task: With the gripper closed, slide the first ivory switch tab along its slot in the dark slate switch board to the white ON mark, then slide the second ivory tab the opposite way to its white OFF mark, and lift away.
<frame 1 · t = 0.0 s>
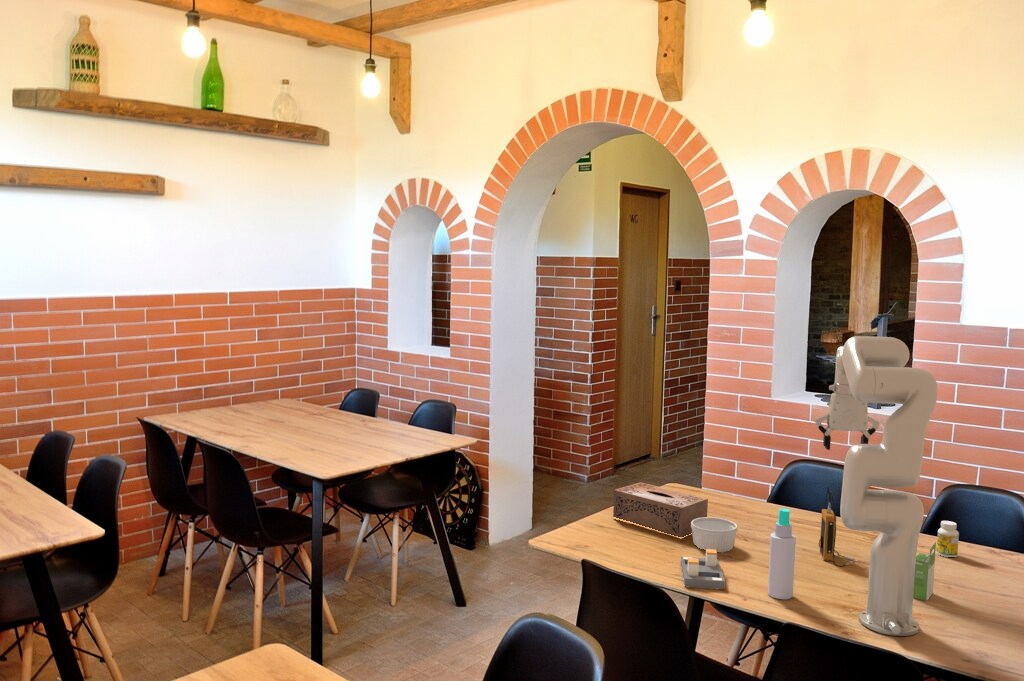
hand: (845, 449, 231), 31 cm above the table, tool pointing down, fingers open, 9 cm apart
ink box: (921, 596, 207), on the table
tab 1: (711, 560, 220), point 3 cm above the table, slide at 0.0 cm
switch board: (701, 576, 217), on the table
tab 2: (692, 569, 213), point 3 cm above the table, slide at 5.4 cm
spray bottle: (779, 596, 205), on the table
supplement bottle: (946, 555, 237), on the table
ramekin: (713, 547, 241), on the table
tissue box cover: (659, 525, 260), on the table
multimeter: (839, 558, 233), on the table
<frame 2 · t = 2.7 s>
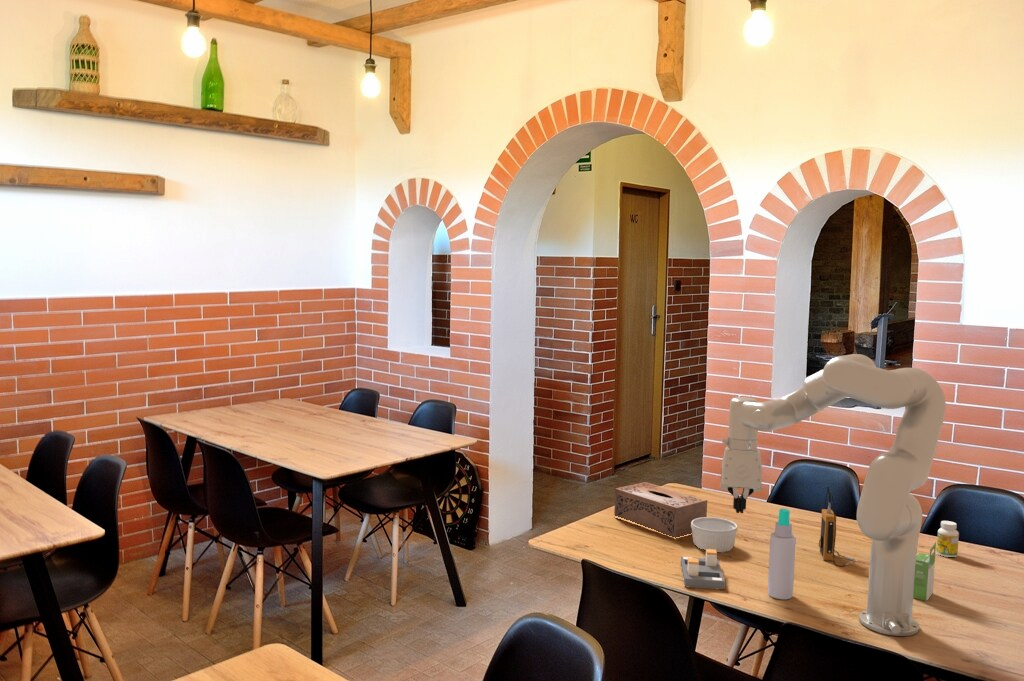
hand: (739, 511, 218), 17 cm above the table, tool pointing down, fingers closed
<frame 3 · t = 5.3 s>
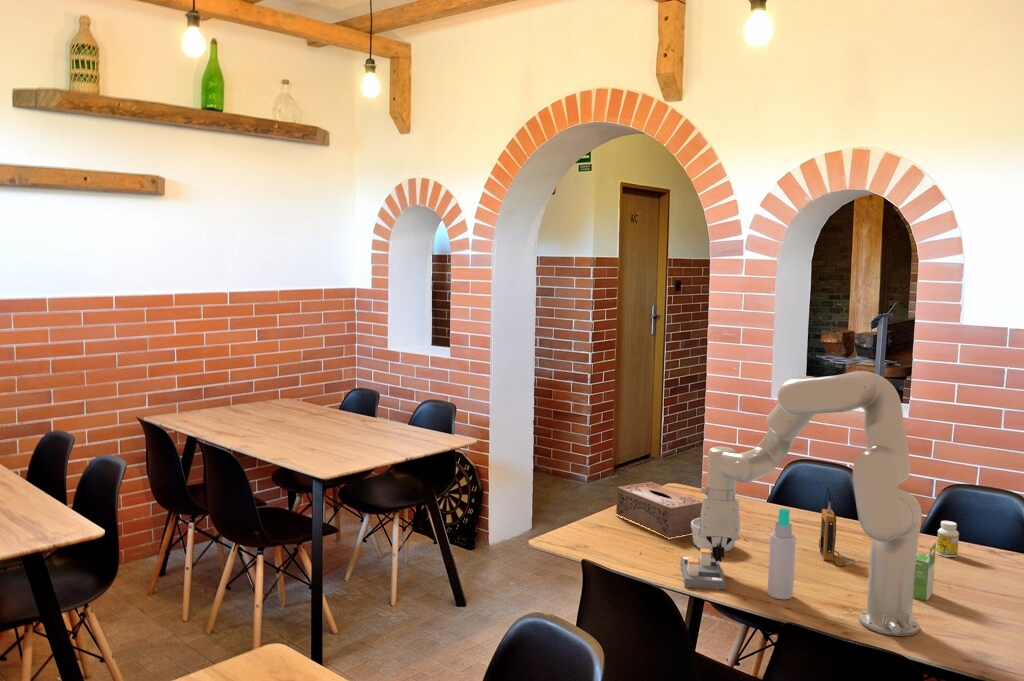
hand: (717, 559, 220), 3 cm above the table, tool pointing down, fingers closed
tab 1: (705, 559, 220), point 3 cm above the table, slide at 1.6 cm, touching gripper
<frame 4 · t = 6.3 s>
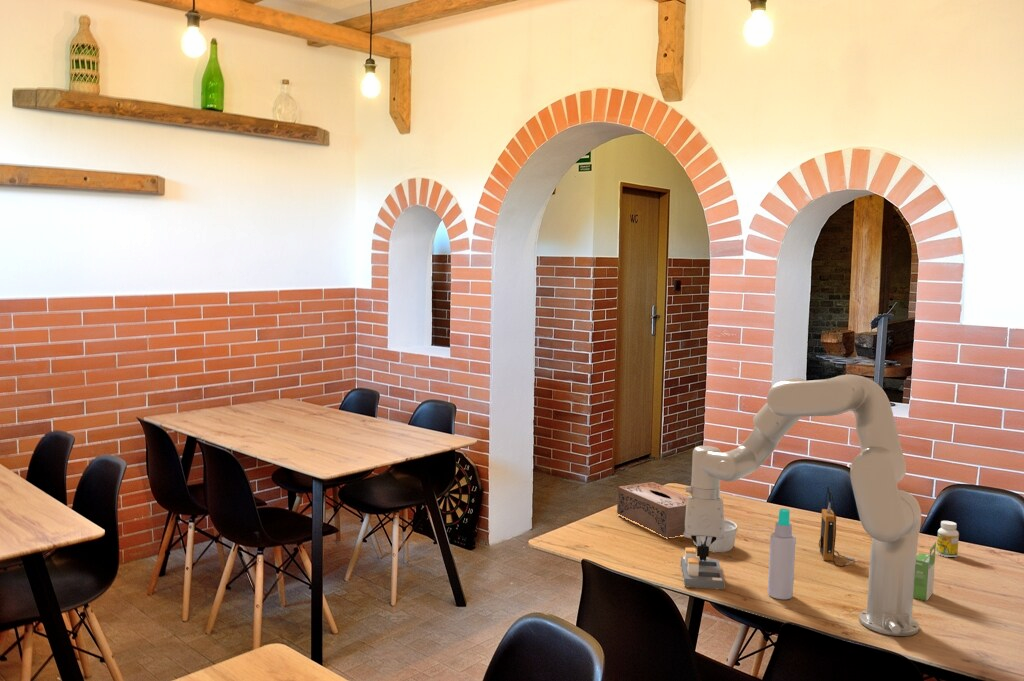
hand: (702, 558, 220), 3 cm above the table, tool pointing down, fingers closed
tab 1: (690, 558, 221), point 3 cm above the table, slide at 5.5 cm, touching gripper
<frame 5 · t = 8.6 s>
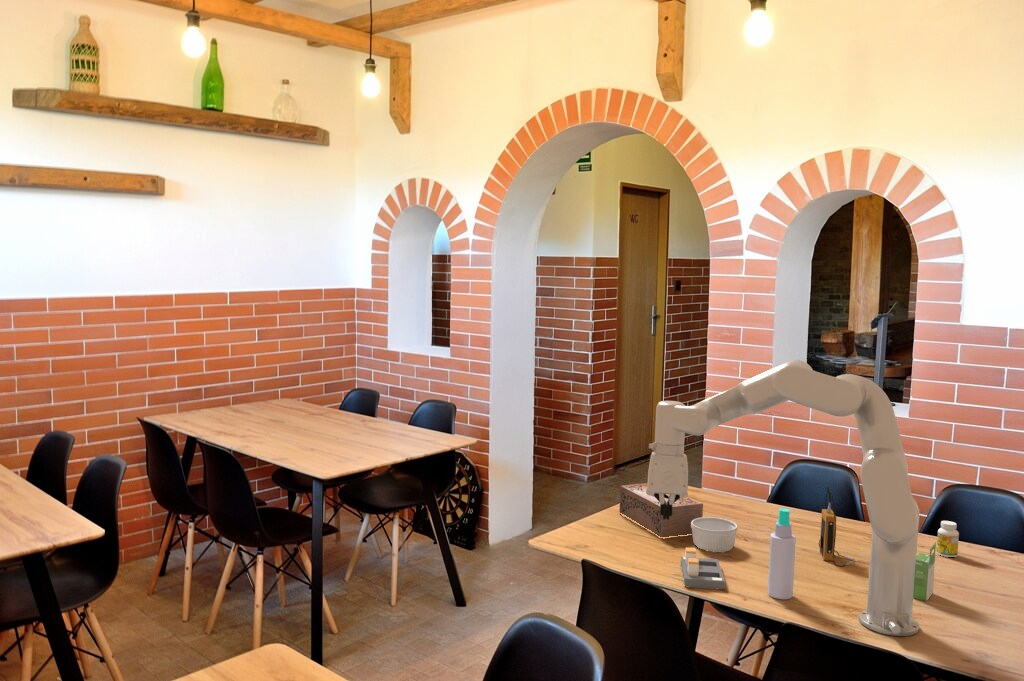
hand: (665, 517, 213), 17 cm above the table, tool pointing down, fingers closed
tab 1: (690, 558, 221), point 3 cm above the table, slide at 5.5 cm
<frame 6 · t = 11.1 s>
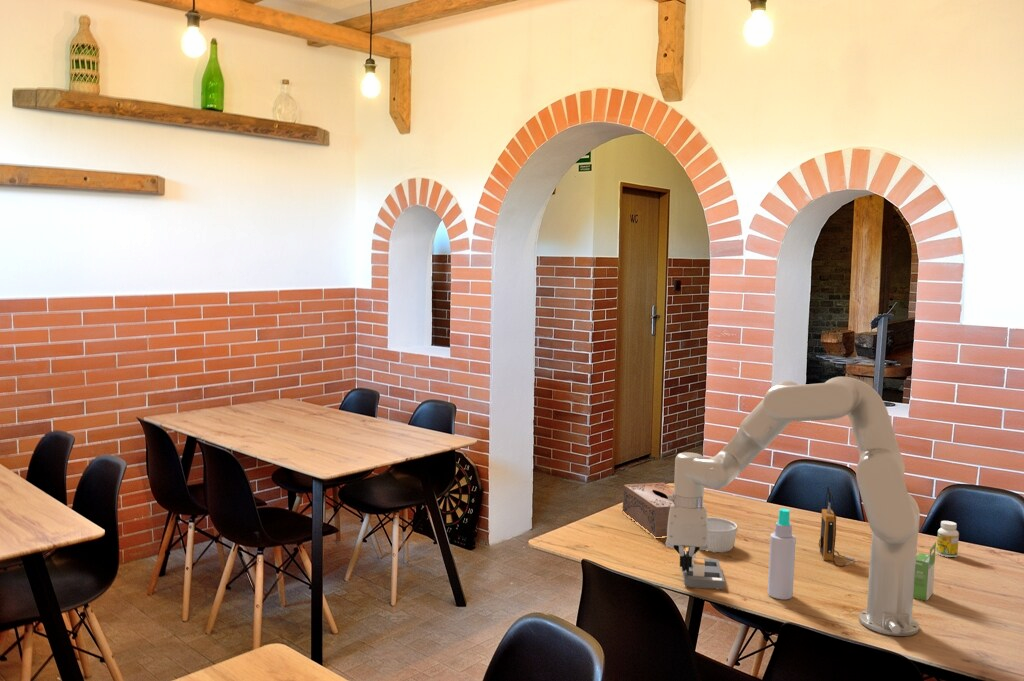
hand: (685, 569, 213), 3 cm above the table, tool pointing down, fingers closed
tab 2: (698, 569, 213), point 3 cm above the table, slide at 3.9 cm, touching gripper
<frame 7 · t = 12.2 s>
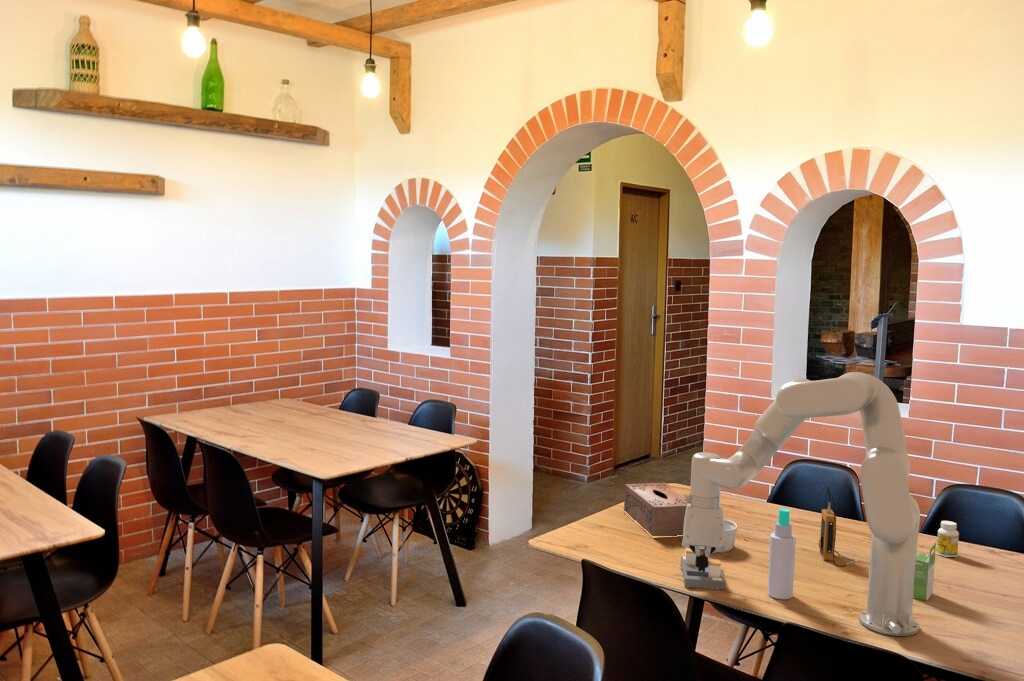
hand: (701, 569, 212), 3 cm above the table, tool pointing down, fingers closed
tab 2: (714, 571, 212), point 3 cm above the table, slide at -0.1 cm, touching gripper
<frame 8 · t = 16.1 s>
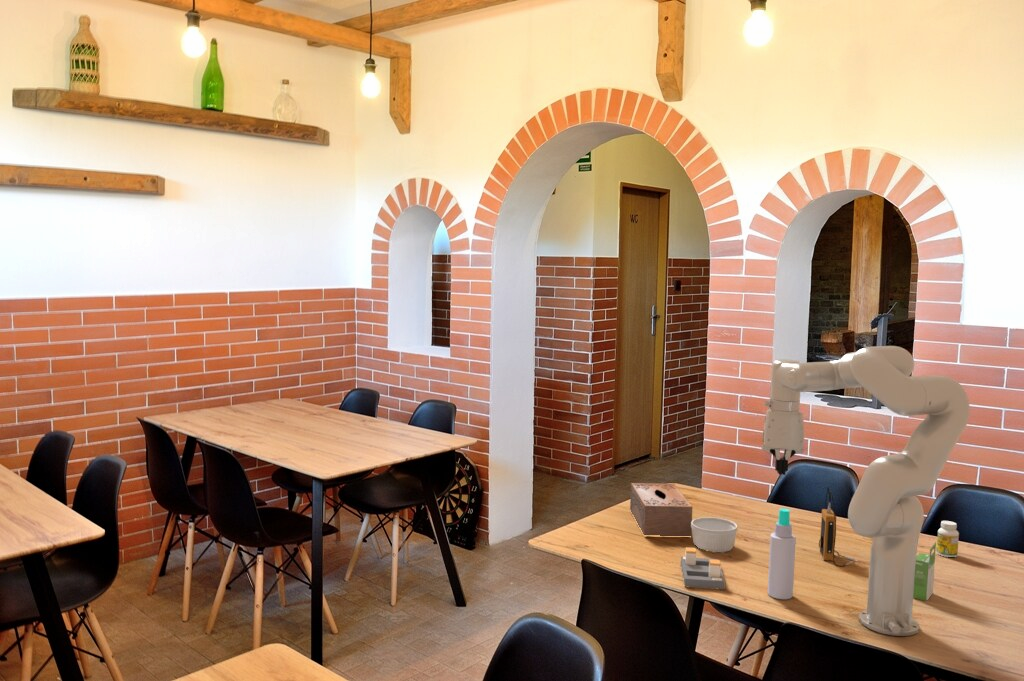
hand: (781, 473, 219), 27 cm above the table, tool pointing down, fingers closed
tab 2: (714, 571, 212), point 3 cm above the table, slide at -0.1 cm
at the end: tab 1 slide at 5.5 cm; tab 2 slide at -0.1 cm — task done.
